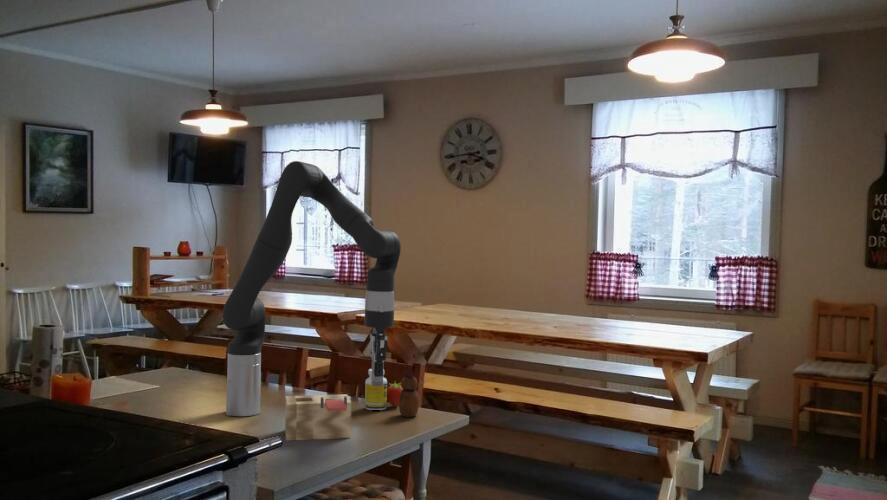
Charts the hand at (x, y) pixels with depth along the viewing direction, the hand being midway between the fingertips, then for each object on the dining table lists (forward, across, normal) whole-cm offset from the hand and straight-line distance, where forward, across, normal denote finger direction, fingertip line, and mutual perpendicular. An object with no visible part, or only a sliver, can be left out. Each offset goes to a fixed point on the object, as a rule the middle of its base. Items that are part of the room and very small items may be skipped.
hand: (377, 374), depth 197 cm
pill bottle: (+16, -29, +4) cm, 33 cm away
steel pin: (+3, 0, 0) cm, 3 cm away
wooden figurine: (+16, -19, +12) cm, 28 cm away
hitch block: (+16, -3, -15) cm, 22 cm away
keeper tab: (+6, +7, -11) cm, 15 cm away
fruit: (+16, -31, +10) cm, 36 cm away
